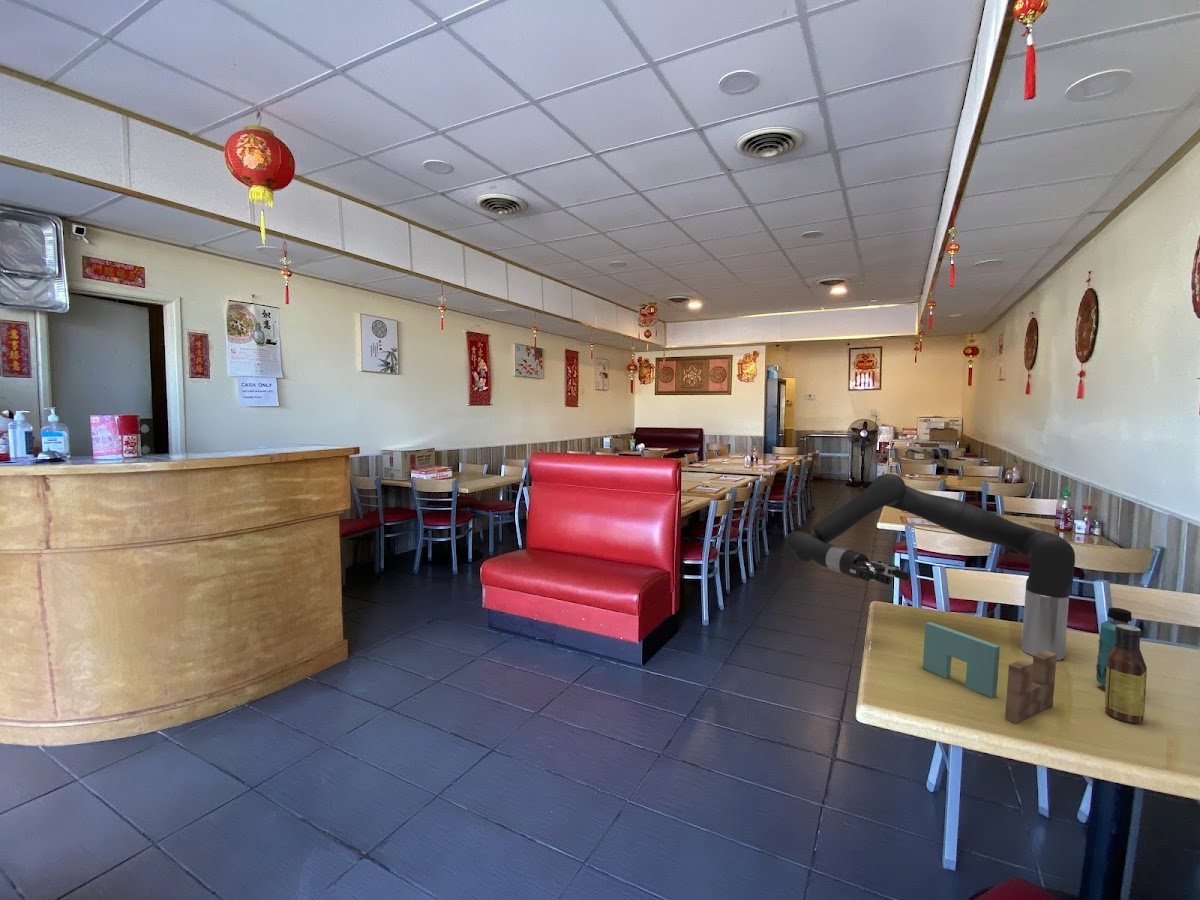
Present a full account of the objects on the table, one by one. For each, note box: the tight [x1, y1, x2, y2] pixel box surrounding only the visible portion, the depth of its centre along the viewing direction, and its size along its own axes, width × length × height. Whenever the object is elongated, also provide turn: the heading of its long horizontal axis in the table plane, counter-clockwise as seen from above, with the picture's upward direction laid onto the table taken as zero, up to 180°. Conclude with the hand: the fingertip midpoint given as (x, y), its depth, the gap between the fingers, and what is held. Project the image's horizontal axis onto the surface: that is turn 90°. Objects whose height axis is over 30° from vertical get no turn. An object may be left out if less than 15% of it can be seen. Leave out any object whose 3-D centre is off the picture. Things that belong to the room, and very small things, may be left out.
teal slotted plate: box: [922, 621, 1001, 699], centre depth 131 cm, size 16×2×12 cm, turn 28°
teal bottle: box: [1095, 607, 1133, 687], centre depth 128 cm, size 6×7×20 cm
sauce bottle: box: [1104, 624, 1148, 724], centre depth 117 cm, size 7×6×20 cm
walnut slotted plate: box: [1004, 651, 1057, 724], centre depth 118 cm, size 16×2×12 cm, turn 118°
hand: (900, 579), depth 144 cm, fingers open, 8 cm apart
